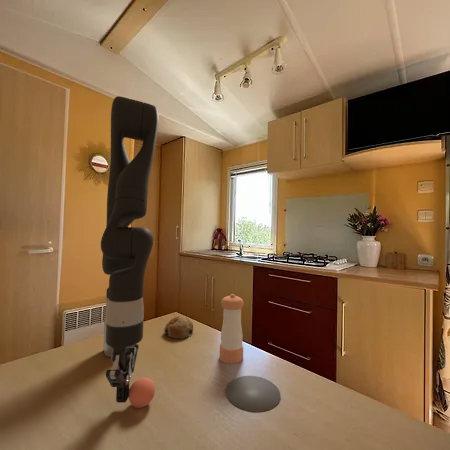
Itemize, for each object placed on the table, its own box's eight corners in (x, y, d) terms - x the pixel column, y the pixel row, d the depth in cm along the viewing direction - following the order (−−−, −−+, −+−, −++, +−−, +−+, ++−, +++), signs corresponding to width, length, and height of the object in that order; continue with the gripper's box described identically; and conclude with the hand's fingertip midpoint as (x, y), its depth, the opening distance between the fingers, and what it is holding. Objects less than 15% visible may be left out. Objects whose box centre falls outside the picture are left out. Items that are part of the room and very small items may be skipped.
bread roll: (181, 351, 88) (191, 330, 87) (157, 335, 90) (167, 315, 89) (191, 339, 97) (200, 321, 97) (169, 325, 99) (177, 307, 99)
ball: (120, 403, 54) (126, 377, 54) (141, 392, 59) (146, 369, 59) (136, 418, 51) (141, 390, 51) (157, 405, 55) (162, 380, 56)
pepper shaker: (231, 349, 82) (232, 290, 82) (248, 357, 76) (249, 294, 77) (214, 356, 76) (215, 293, 77) (231, 366, 71) (233, 298, 72)
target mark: (214, 395, 58) (214, 394, 58) (243, 371, 69) (243, 370, 69) (265, 420, 51) (265, 419, 51) (288, 388, 62) (288, 388, 62)
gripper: (132, 330, 48) (129, 423, 47) (150, 309, 61) (148, 381, 61) (92, 330, 48) (89, 423, 47) (119, 309, 61) (117, 381, 60)
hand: (122, 400), depth 54 cm, fingers closed
